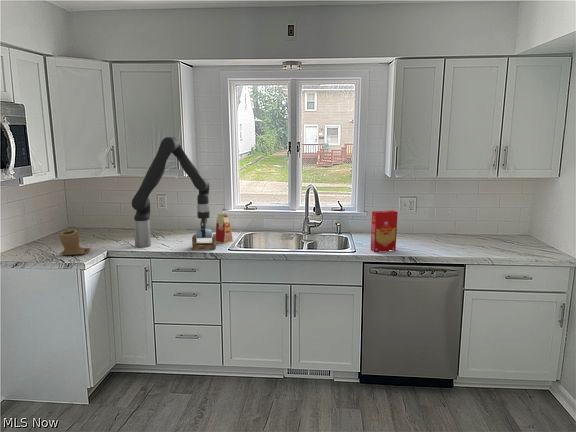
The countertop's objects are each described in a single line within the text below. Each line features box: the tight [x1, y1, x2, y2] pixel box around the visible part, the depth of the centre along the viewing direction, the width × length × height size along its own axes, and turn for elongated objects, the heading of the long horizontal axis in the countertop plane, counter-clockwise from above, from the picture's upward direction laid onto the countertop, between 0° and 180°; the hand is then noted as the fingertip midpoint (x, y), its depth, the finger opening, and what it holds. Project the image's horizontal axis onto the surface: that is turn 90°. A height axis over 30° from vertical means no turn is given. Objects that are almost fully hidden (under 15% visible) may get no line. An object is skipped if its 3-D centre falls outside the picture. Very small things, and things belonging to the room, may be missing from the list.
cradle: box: [191, 233, 217, 251], centre depth 281 cm, size 14×9×8 cm, turn 94°
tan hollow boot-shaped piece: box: [59, 229, 91, 256], centre depth 263 cm, size 15×12×15 cm
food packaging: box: [370, 210, 399, 253], centre depth 276 cm, size 15×5×25 cm, turn 106°
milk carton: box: [215, 212, 234, 245], centre depth 297 cm, size 9×9×20 cm
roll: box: [195, 228, 213, 239], centre depth 280 cm, size 10×6×6 cm, turn 95°
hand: (204, 236), depth 281 cm, fingers closed on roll, 5 cm apart
